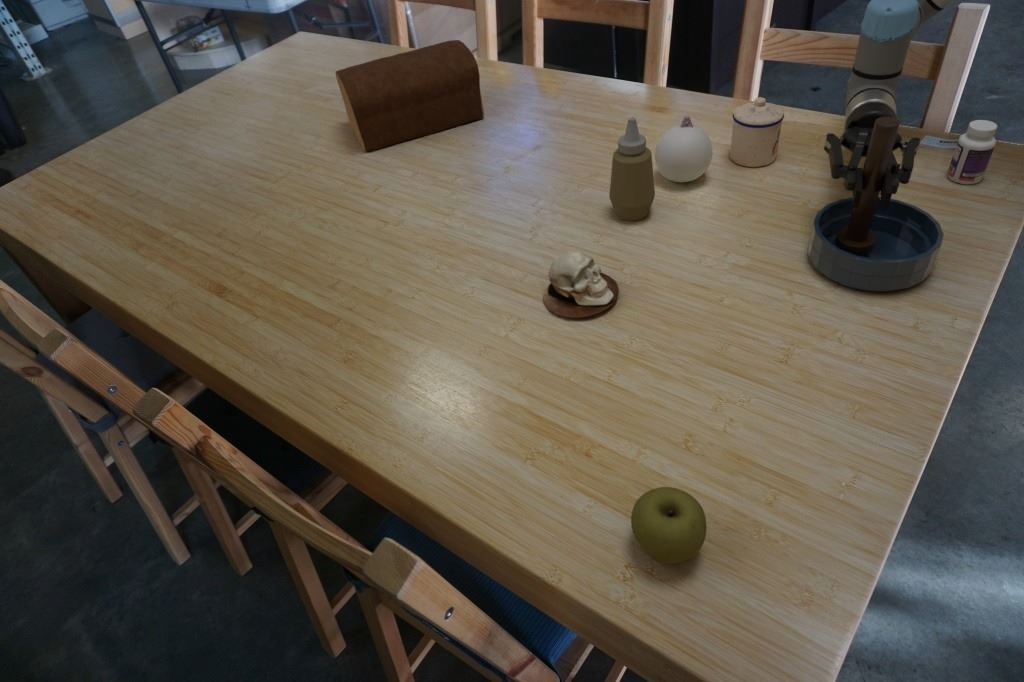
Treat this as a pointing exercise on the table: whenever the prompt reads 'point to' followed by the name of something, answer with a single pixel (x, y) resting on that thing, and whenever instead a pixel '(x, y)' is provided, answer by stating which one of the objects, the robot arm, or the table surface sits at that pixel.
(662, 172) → the ornament
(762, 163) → the teacup with lid
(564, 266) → the skull
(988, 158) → the pill bottle
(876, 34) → the robot arm
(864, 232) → the stirrer
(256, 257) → the table surface
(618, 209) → the squeeze bottle
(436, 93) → the bread
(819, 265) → the bowl
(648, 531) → the apple
